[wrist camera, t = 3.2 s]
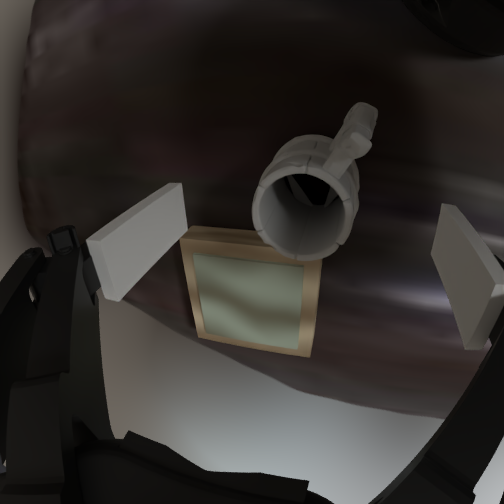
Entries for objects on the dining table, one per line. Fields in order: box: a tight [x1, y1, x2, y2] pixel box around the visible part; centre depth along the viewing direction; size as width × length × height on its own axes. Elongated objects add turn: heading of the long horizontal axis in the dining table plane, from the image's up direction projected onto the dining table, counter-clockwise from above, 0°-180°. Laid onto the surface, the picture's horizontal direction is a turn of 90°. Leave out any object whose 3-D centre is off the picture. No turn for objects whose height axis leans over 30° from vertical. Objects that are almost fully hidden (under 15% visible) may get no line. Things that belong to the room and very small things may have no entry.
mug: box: [252, 102, 378, 261], centre depth 20 cm, size 8×12×12 cm, turn 151°
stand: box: [179, 225, 322, 357], centre depth 33 cm, size 14×14×3 cm
